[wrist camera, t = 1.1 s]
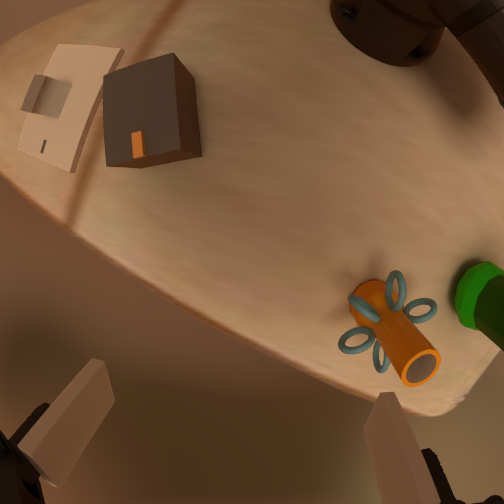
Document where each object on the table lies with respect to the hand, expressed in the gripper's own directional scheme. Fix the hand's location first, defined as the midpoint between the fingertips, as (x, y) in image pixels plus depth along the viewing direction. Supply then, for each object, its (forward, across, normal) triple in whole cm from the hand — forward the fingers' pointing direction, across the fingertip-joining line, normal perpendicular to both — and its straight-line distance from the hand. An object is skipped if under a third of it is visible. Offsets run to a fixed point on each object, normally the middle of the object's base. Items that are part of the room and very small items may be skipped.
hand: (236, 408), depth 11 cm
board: (+23, -30, +21) cm, 43 cm away
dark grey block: (+23, -12, +16) cm, 31 cm away
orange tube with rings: (+23, +15, -4) cm, 27 cm away
